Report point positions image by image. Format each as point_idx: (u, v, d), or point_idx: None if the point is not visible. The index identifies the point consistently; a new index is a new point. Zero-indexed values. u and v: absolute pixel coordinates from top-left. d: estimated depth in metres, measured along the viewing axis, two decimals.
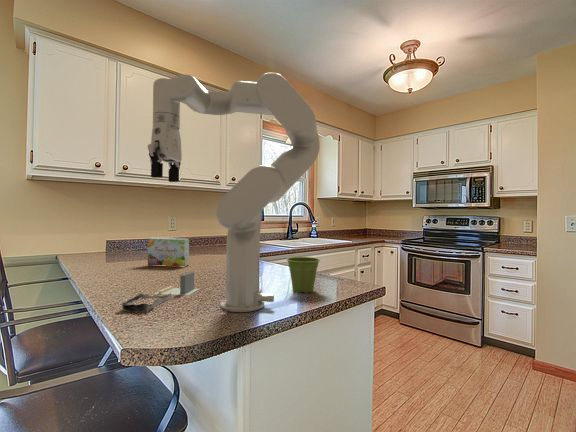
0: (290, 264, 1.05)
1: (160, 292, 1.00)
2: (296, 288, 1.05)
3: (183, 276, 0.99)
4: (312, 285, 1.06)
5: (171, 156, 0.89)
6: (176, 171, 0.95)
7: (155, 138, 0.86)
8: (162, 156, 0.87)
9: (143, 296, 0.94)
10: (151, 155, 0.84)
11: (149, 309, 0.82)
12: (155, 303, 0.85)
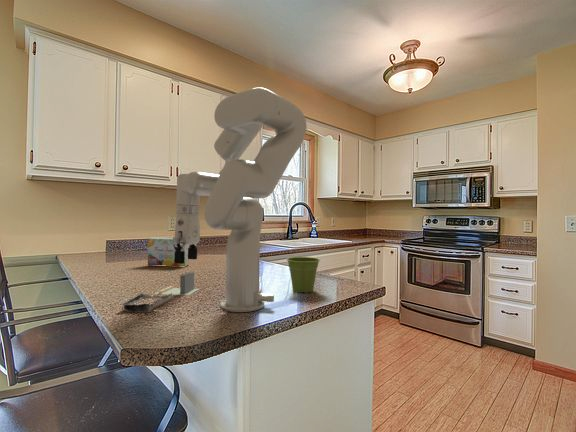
0: (290, 264, 1.05)
1: (160, 292, 1.00)
2: (296, 288, 1.05)
3: (183, 276, 0.99)
4: (312, 285, 1.06)
5: (192, 242, 1.01)
6: (195, 250, 1.08)
7: (179, 229, 0.98)
8: (184, 244, 0.99)
9: (144, 296, 0.94)
10: (175, 246, 0.96)
11: (151, 309, 0.82)
12: (156, 303, 0.85)
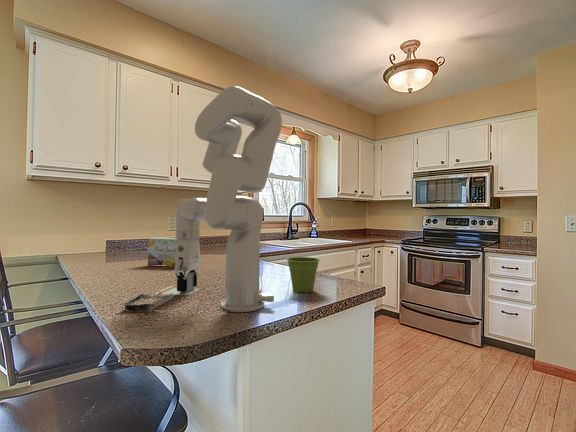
0: (290, 264, 1.05)
1: (160, 292, 1.00)
2: (296, 288, 1.05)
3: None
4: (312, 285, 1.06)
5: (192, 268, 1.01)
6: (194, 277, 1.06)
7: (179, 255, 0.98)
8: (186, 272, 0.99)
9: (144, 296, 0.94)
10: (178, 275, 0.97)
11: (152, 309, 0.82)
12: (157, 303, 0.85)
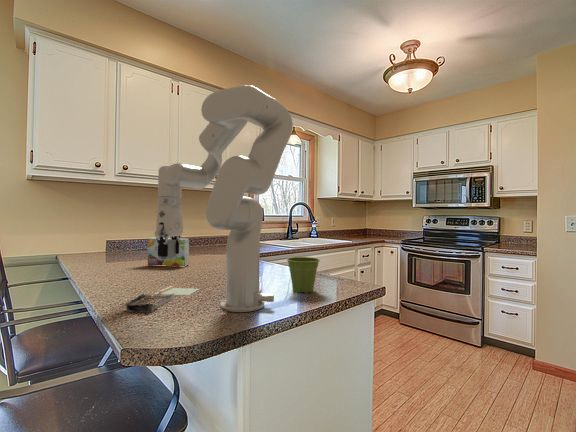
0: (290, 264, 1.05)
1: (160, 292, 1.00)
2: (296, 288, 1.05)
3: None
4: (312, 285, 1.06)
5: (174, 234, 1.02)
6: (176, 245, 1.07)
7: (160, 220, 0.99)
8: (167, 237, 1.00)
9: (145, 297, 0.94)
10: (158, 239, 0.98)
11: (154, 309, 0.82)
12: (159, 303, 0.85)
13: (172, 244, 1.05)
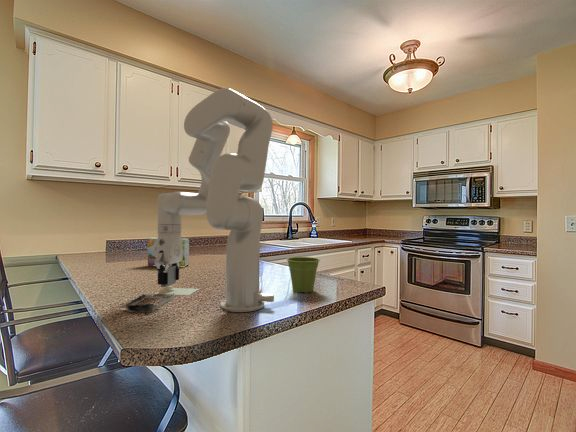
0: (290, 264, 1.05)
1: (160, 292, 1.00)
2: (296, 288, 1.05)
3: None
4: (312, 285, 1.06)
5: (173, 261, 1.01)
6: (176, 271, 1.07)
7: (160, 248, 0.99)
8: (167, 265, 1.00)
9: (145, 297, 0.94)
10: (158, 268, 0.97)
11: (154, 309, 0.82)
12: (159, 303, 0.85)
13: (172, 271, 1.04)
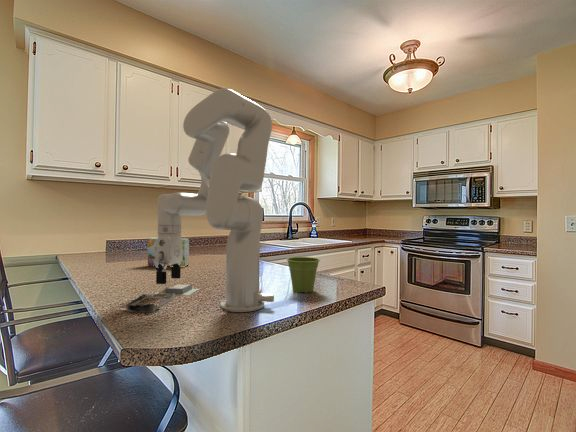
0: (290, 264, 1.05)
1: (160, 292, 1.00)
2: (296, 288, 1.05)
3: (181, 292, 0.99)
4: (312, 285, 1.06)
5: (174, 262, 1.01)
6: (178, 269, 1.08)
7: (160, 249, 0.99)
8: (166, 265, 0.99)
9: (146, 297, 0.94)
10: (156, 267, 0.96)
11: (155, 309, 0.82)
12: (160, 303, 0.85)
13: None
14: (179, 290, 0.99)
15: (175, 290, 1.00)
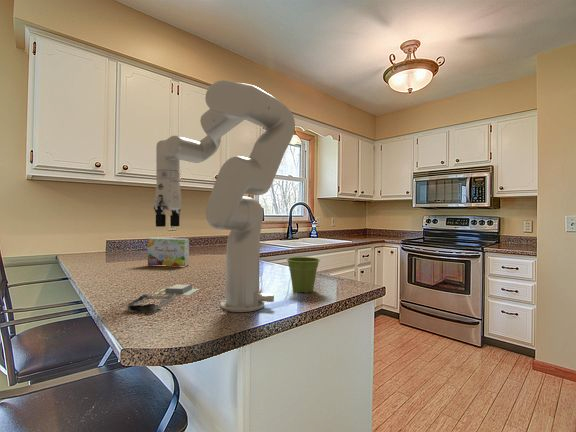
0: (290, 264, 1.05)
1: (160, 292, 1.00)
2: (296, 288, 1.05)
3: (181, 292, 0.99)
4: (312, 285, 1.06)
5: (172, 207, 1.03)
6: (177, 217, 1.10)
7: (159, 193, 1.01)
8: (165, 208, 1.01)
9: (147, 297, 0.94)
10: (156, 208, 0.98)
11: (156, 309, 0.82)
12: (161, 303, 0.85)
13: None
14: (179, 290, 0.99)
15: (175, 290, 1.00)
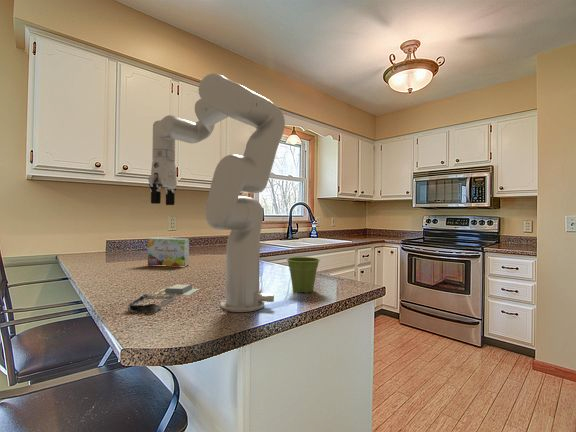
0: (290, 264, 1.05)
1: (160, 292, 1.00)
2: (296, 288, 1.05)
3: (181, 292, 0.99)
4: (312, 285, 1.06)
5: (167, 185, 1.07)
6: (172, 196, 1.13)
7: (154, 171, 1.04)
8: (160, 186, 1.05)
9: (147, 297, 0.94)
10: (151, 186, 1.02)
11: (157, 309, 0.82)
12: (162, 303, 0.85)
13: None
14: (179, 290, 0.99)
15: (175, 290, 1.00)
